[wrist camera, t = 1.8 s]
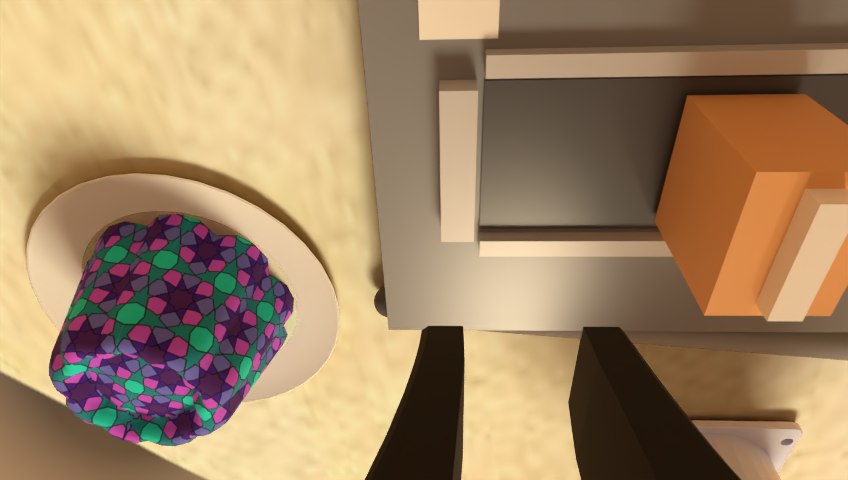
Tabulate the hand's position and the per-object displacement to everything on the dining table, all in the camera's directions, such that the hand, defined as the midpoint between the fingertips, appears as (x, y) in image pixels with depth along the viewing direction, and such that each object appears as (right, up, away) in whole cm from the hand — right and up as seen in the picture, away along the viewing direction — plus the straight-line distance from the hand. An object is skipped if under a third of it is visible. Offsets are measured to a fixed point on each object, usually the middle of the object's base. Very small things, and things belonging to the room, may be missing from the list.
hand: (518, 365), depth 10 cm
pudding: (-11, 0, +13) cm, 17 cm away
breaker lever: (+7, +4, +6) cm, 10 cm away
